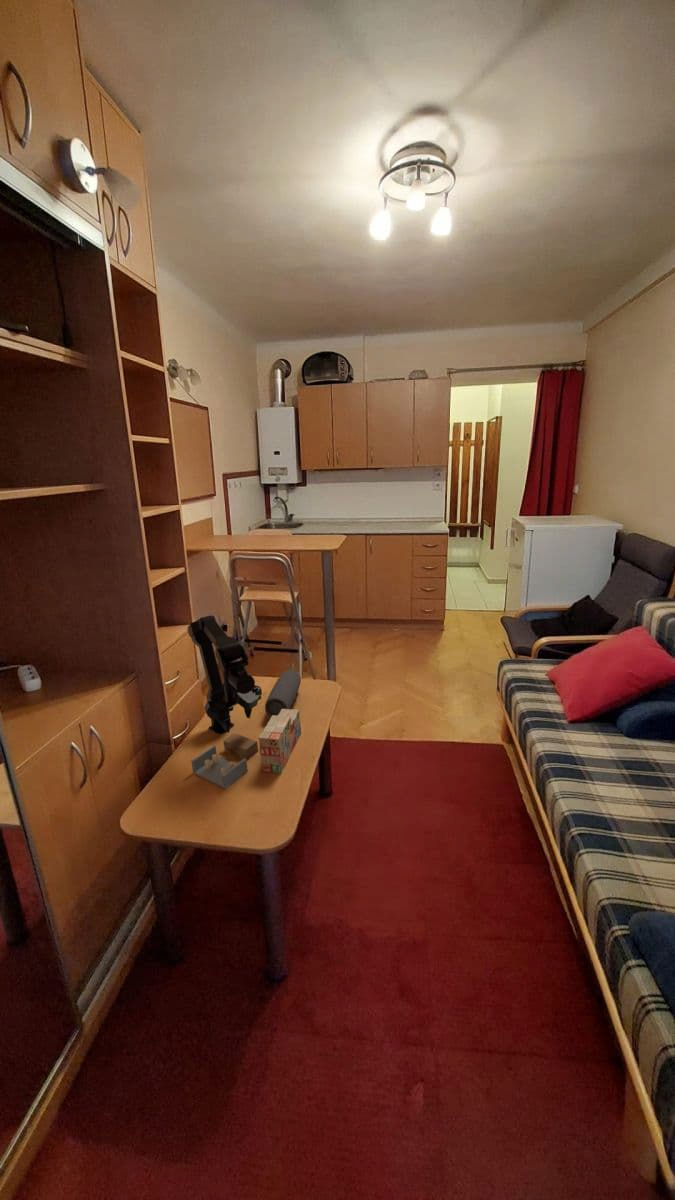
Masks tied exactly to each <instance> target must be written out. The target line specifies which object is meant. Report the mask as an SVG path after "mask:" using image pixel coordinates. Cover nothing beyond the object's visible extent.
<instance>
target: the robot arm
mask: <svg viewBox="0 0 675 1200" xmlns="http://www.w3.org/2000/svg"><path fill="white" fill-rule="evenodd" d="M187 633H188V636H189V637H190V638H191V642H192V643H194V645H196V646H197V647H198V650H199V654H200V658H201V661H202V664H203V669H204V673H205V678H206V680H207V685H208V690H207V694H206V703H205V705H204V712H205V714H206V716H207V718H209V719H210V720H211V721H210V722H211V726H209V727H208V730H209V731H212V732H215V733H218V734H220V735H221V734H223V733H230V729H231V728H232V727H234V726H235V723H234V722H232V721H231V717H232V716H231V715H230V713H231V712H232V711H234V707H235V706H237V705H239V706H240V707H242V708H243V711H244V715H245V716H246V718H247V719H251V716H252V715H251V714H252V710H253V709H254V707H257V706H258V702H259V701H260V700H262V695H263V692H262V691H263V690H262V688H261V686H258V685H256V684H255V683H256V682H255V678H254V677H253V676H252V675H251V674H250V673H248V670H246V668H245V667H246V666H249V665H250V664H249V661H248V660H249V656H248V655H247V652H246V650H245V647H244V646H243V644H242V643H241V642H239V641H238V640H237V639H236V638H235V637H233V636H228V634H227V633H226V632H225V631H224V630H223V628H222V627H221V626H220V625H219V623H218V622H217V620H216V617H215V615H207V616H203V617H200V618H197V620H195V621H192V622H190V623H189V624H188V626H187ZM213 645H214V646H213ZM214 647H215V650H214ZM217 661H218V662H217ZM218 664H219V665H218ZM219 666H220V668H221V673H222V676H221V674H220V668H219Z"/></svg>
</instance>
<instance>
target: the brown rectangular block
mask: <svg viewBox="0 0 675 1200" xmlns="http://www.w3.org/2000/svg"><path fill="white" fill-rule="evenodd" d="M222 742H223V747H224V748H223V749H224V751H225V752H227V753H230V754H232V755H234V756H237V757H238V758H242V759H244V758H245V759H246V761H249V760H250V759H251V758H252V757H253V756H254V755H256V754H257V753H258V752H259V747H258V741H257V740H255V739H251V738H249V737H246V736H244V735H241V734H239V733H235V732H234V733H232V734H230V735H229V736H228V737H226V738H225V739H224V740H223V741H222Z"/></svg>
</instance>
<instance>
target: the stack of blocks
mask: <svg viewBox="0 0 675 1200" xmlns="http://www.w3.org/2000/svg"><path fill="white" fill-rule="evenodd" d="M300 716H301V715H300V710H299V709H294V708H290V709H281V711H280V713H279V714H278V716H275V715H272V717H270V719H269V721H267V724H266V726H265V727H264V728H263V730H262V732H261V733H260V735H259V737H258V741H259V752H260V753H259V754H260V761H261V771H262V772H263V773H273V774H274V773H275V774H282V773H283V771H284V769H285V767H286V766H287V764H288V762H289V760H290V758H291V755H292V753H293V751H294V749H295V746H296V745H297V743H298V741H299V739H300V736H301V734H302V727H301V717H300Z"/></svg>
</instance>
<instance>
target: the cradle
mask: <svg viewBox="0 0 675 1200" xmlns="http://www.w3.org/2000/svg"><path fill="white" fill-rule="evenodd" d="M190 761H191V766H192V767H191V768H192V773H193V774H194V775H197V776H199V777H200V778H203V779H205V780H207V781H208V782H211V783H213V784H215V785H217V786H219V787H221V788H223V789H225V790H227V789H228V788H229V787H230V786H231V785H233V784H234V783H235V782H236V781H238V780H239V779H240V778H241V777H243V776H244V775H246V773H247V772H248V771H249V770H248V763H247V761H248V760H246V759H245V758H242V759H241V760H240V761H239V762H237V763H235V762H234V761H233V760H231V761H229V760H226V759H224V758H222V757H220V756H218V754H217V747H216V745H214V744H213V745H212V746H210V747H209V748H208V749H206V750H205V751H203V752H202V753H200V754H198V755H197V756H196V757H195V758H193V759H191V760H190Z"/></svg>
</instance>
